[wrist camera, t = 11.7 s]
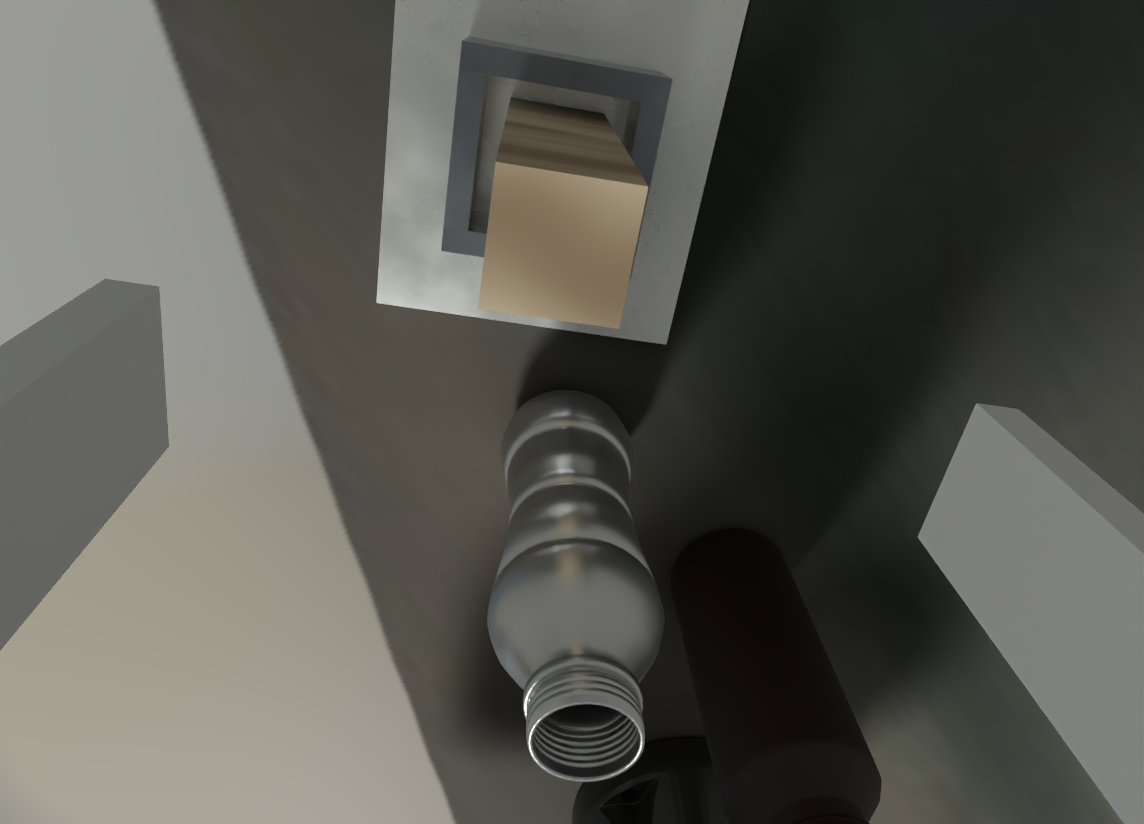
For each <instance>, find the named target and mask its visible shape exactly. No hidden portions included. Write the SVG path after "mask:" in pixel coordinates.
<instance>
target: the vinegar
mask: <svg viewBox="0 0 1144 824" xmlns="http://www.w3.org/2000/svg"><path fill="white" fill-rule="evenodd" d="M671 585H672V594H673V598H674V603H675V607H676V611H677V616H678V620H679V624H680V628H681V633H682V637H683V641H684V646H685V650H686V654H687V659H688V663H689V667H690V671H691V676H692V680H693V684H694V689H695V693H696V697H697V701H698V706H699V710H700V714H701V719H702V723H703V727H704V732H705V736H706V740H707V744H708V749H709V753H710V757H711V762H712V766H713V770H714V774H715V779H716V783H717V787H718V792H719V796H720V800H721V804H722V809H723V812H724V814H725V816H726V818H727V820H728V821H729V823H730V824H869V823H868V822H869V820H870V819H871V817H872V815H873V813H874V811H875V809H876V808H877V806H878V804H879V801H880V793H881V777H880V774H879V771H878V769H877V767H876V764H875V762H874V759H873V757H872V755H871V753H870V751H869V748H868V746H867V744H866V742H865V739H864V737H863V735H862V733H861V730H860V728H859V726H858V724H857V721H856V719H855V717H854V715H853V712H852V710H851V708H850V706H849V703H848V701H847V699H846V697H845V694H844V692H843V690H842V688H841V685H840V683H839V681H838V679H837V677H836V674H835V672H834V670H833V668H832V665H831V663H830V661H829V659H828V656H827V654H826V652H825V650H824V647H823V645H822V643H821V641H820V638H819V636H818V634H817V632H816V629H815V627H814V625H813V623H812V620H811V618H810V616H809V614H808V612H807V609H806V607H805V605H804V603H803V600H802V598H801V596H800V594H799V591H798V589H797V587H796V585H795V582H794V580H793V578H792V576H791V573H790V571H789V569H788V567H787V564H786V562H785V560H784V558H783V555H782V553H781V551H780V550H779V549H778V548H777V547H776V546H775V545H774V544H773V543H772V542H771V541H770V540H769V539H768V538H765V537H763V536H761V535H759V534H757V533H755V532H752V531H745V530H738V529H733V530H725V531H717V532H714V533H712V534H709V535H707V536H704V537H702V538H699V539H698V540H697V541H695V542H694V543H693V544H691V545H690V546H689V547H687V548H686V549H685V550H684V552H683V553H682V554H681V556H680V557H679V558H678V560H677V561H676V563H675V566H674V569H673V573H672V576H671Z"/></svg>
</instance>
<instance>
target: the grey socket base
mask: <svg viewBox="0 0 1144 824" xmlns="http://www.w3.org/2000/svg"><path fill="white" fill-rule="evenodd" d="M748 3H749V0H396V3H395V19H394V35H393V51H392V66H391V82H390V98H389V114H388V129H387V145H386V161H385V176H384V192H383V208H382V224H381V239H380V255H379V271H378V287H377V302H376V303H381V304H388V305H395V306H402V307H409V308H416V309H422V310H429V311H436V312H443V313H450V314H457V315H464V316H471V317H478V318H485V319H492V320H499V321H506V322H512V323H519V324H526V325H533V326H540V327H547V328H554V329H561V330H568V331H575V332H582V333H589V334H595V335H602V336H609V337H616V338H623V339H630V340H637V341H644V342H651V343H658V344H665V345H666V344H667V340H668V336H669V332H670V328H671V323H672V319H673V315H674V311H675V307H676V303H677V298H678V294H679V290H680V286H681V282H682V278H683V273H684V269H685V265H686V261H687V257H688V253H689V249H690V244H691V240H692V236H693V232H694V228H695V224H696V219H697V215H698V211H699V207H700V203H701V199H702V195H703V190H704V186H705V182H706V178H707V174H708V170H709V165H710V161H711V157H712V153H713V149H714V145H715V141H716V136H717V132H718V128H719V124H720V120H721V116H722V111H723V107H724V103H725V99H726V95H727V91H728V86H729V82H730V78H731V74H732V70H733V66H734V62H735V57H736V53H737V49H738V45H739V41H740V37H741V32H742V28H743V24H744V20H745V16H746V12H747V8H748ZM511 97H512V98H518V99H524V100H530V101H535V102H541V103H547V104H553V105H558V106H564V107H570V108H576V109H582V110H587V111H593V112H599V113H604V114H605V116H606V117H607V119H608V121H609V122H610V124H611V126H612V127H613V129H614V131H615V132H616V134H617V136H618V137H619V139H620V141H621V142H622V144H623V145H624V147H625V149H626V150H627V152H628V154H629V155H630V157H631V159H632V160H633V162H634V164H635V165H636V167H637V169H638V170H639V172H640V174H641V175H642V177H643V178H644V180H645V182H646V183H647V185H648V191H647V196H646V201H645V206H644V211H643V216H642V220H641V225H640V230H639V235H638V240H637V245H636V250H635V254H634V259H633V264H632V269H631V274H630V279H629V283H628V288H627V293H626V298H625V303H624V308H623V313H622V317H621V322H620V327H619V329H616V328H609V327H602V326H595V325H588V324H581V323H574V322H567V321H560V320H553V319H546V318H539V317H532V316H525V315H518V314H511V313H504V312H497V311H490V310H483V309H478V303H479V295H480V287H481V278H482V270H483V262H484V253H485V245H486V237H487V228H488V220H489V212H490V203H491V195H492V187H493V178H494V170H495V162H496V157H497V153H498V149H499V145H500V141H501V136H502V132H503V128H504V124H505V120H506V115H507V111H508V107H509V103H510V99H511Z"/></svg>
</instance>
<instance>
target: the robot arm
mask: <svg viewBox="0 0 1144 824" xmlns="http://www.w3.org/2000/svg"><path fill="white" fill-rule="evenodd" d="M166 409H167V408H166V393H165V377H164V359H163V343H162V327H161V311H160V294H159V287H158V286H151V285H143V284H137V283H130V282H123V281H116V280H109V279H104V280H103V281H101V282H99V283H98V284H96V285H95V286H93V287H92V288H90V289H89V290H87V291H86V292H84V293H82V294H81V295H79V296H78V297H76V298H74V299H73V300H72V301H70V302H68V303H67V304H65V305H64V306H62V307H61V308H59V309H57V310H56V311H54V312H53V313H51V314H49V315H48V316H46V317H45V318H43V319H42V320H40V321H39V322H37V323H36V324H34V325H32V326H31V327H29V328H28V329H26V330H25V331H23V332H21V333H20V334H18V335H17V336H15V337H14V338H12V339H10V340H9V341H7V342H6V343H4V344H3V345H1V346H0V650H1V649H2V648H3V647H4V645H5V644H6V643H7V642H8V641H9V639H10V638H11V637H12V636H13V634H14V633H15V632H16V631H17V630H18V628H19V627H20V626H21V625H22V623H23V622H24V621H25V620H26V619H27V617H28V616H29V615H30V614H31V613H32V611H33V610H34V609H35V608H36V607H37V605H38V604H39V603H40V602H41V601H42V599H43V598H44V597H45V596H46V594H47V593H48V592H49V591H50V590H51V588H52V587H53V586H54V585H55V584H56V582H57V581H58V580H59V579H60V578H61V576H62V575H63V574H64V573H65V571H66V570H67V569H68V568H69V567H70V565H71V564H72V563H73V562H74V561H75V559H76V558H77V557H78V556H79V555H80V553H81V552H82V551H83V549H85V547H86V546H87V545H88V544H89V542H90V541H91V540H92V539H93V538H94V536H95V535H96V534H97V533H98V531H99V530H100V529H101V528H102V527H103V525H104V524H105V523H106V522H107V521H108V519H109V518H110V517H111V516H112V515H113V513H114V512H115V511H116V509H118V507H119V506H120V505H121V504H122V503H123V501H124V500H125V499H126V498H127V496H128V495H129V494H130V493H131V492H132V490H133V489H134V488H135V487H136V486H137V484H138V483H139V482H140V481H141V479H142V478H143V477H144V476H145V475H146V473H147V472H148V471H149V470H150V469H151V467H152V466H153V465H154V464H155V462H156V461H157V460H158V459H159V458H160V457H161V455H162V454H163V453H164V451H165V450H166V449H167V448H168V447H169V443H168V425H167V410H166ZM918 538H919V540H920V541H921V543H922V544H923V545H924V547H925V548H926V549H927V551H928V552H929V554H930V555H931V556H932V558H933V559H934V561H935V562H936V563H937V565H938V566H939V568H940V569H941V570H942V572H943V573H944V574H945V576H946V577H947V579H948V580H949V581H950V583H951V584H952V586H953V587H954V588H955V590H956V591H957V593H958V594H959V595H960V597H961V598H962V599H963V601H964V602H965V604H966V605H967V606H968V608H969V609H970V611H971V612H972V613H973V615H974V616H975V618H976V619H977V620H978V622H979V623H980V624H981V626H982V627H983V629H984V630H985V631H986V633H987V634H988V636H989V637H990V638H991V640H992V641H993V642H994V644H995V645H996V647H997V648H998V649H999V651H1000V652H1001V654H1002V655H1003V656H1004V658H1005V659H1006V661H1007V662H1008V663H1009V665H1010V666H1011V667H1012V669H1013V670H1014V672H1015V673H1016V674H1017V676H1018V677H1019V679H1020V680H1021V681H1022V683H1023V684H1024V686H1025V687H1026V688H1027V690H1028V691H1029V692H1030V694H1031V695H1032V697H1033V698H1034V699H1035V701H1036V702H1037V704H1038V705H1039V706H1040V708H1041V709H1042V710H1043V712H1044V713H1045V715H1046V716H1047V717H1048V719H1049V720H1050V722H1051V723H1052V724H1053V726H1054V727H1055V729H1056V730H1057V731H1058V733H1059V734H1060V735H1061V737H1062V738H1063V740H1064V741H1065V742H1066V744H1067V745H1068V747H1069V748H1070V749H1071V751H1072V752H1073V754H1074V755H1075V756H1076V758H1077V759H1078V760H1079V762H1080V763H1081V765H1082V766H1083V767H1084V769H1085V770H1086V772H1087V773H1088V774H1089V776H1090V777H1091V778H1092V780H1093V781H1094V783H1095V784H1096V785H1097V787H1098V788H1099V790H1100V791H1101V792H1102V794H1103V795H1104V797H1105V798H1106V799H1107V801H1108V802H1109V803H1110V805H1111V806H1112V808H1113V809H1114V810H1115V812H1116V813H1117V815H1118V816H1119V817H1120V819H1121V820H1122V822H1123V823H1124V824H1144V514H1143V513H1142V512H1141V511H1140V510H1139V509H1137V508H1136V507H1135V506H1134V505H1133V504H1131V503H1130V502H1129V501H1128V500H1127V499H1125V498H1124V497H1123V496H1122V495H1121V494H1120V493H1118V492H1117V491H1116V490H1115V489H1114V488H1112V487H1111V486H1110V485H1109V484H1108V483H1106V482H1105V481H1104V480H1103V479H1102V478H1100V477H1099V476H1098V475H1097V474H1096V473H1094V472H1093V471H1092V470H1091V469H1090V468H1088V467H1087V466H1086V465H1085V464H1084V463H1082V462H1081V461H1080V460H1079V459H1078V458H1076V457H1075V456H1074V455H1073V454H1072V453H1070V452H1069V451H1068V450H1067V449H1066V448H1064V447H1063V446H1062V445H1061V444H1060V443H1058V442H1057V441H1056V440H1055V439H1054V438H1052V437H1051V436H1050V435H1049V434H1048V433H1046V432H1045V431H1044V430H1043V429H1042V428H1040V427H1039V426H1038V425H1037V424H1036V423H1034V422H1033V421H1032V420H1031V419H1030V418H1028V417H1027V416H1026V415H1025V414H1024V413H1022V412H1021V411H1020V410H1019V409H1014V408H1007V407H1000V406H993V405H986V404H979V403H976V405H975V407H974V410H973V412H972V414H971V417H970V419H969V421H968V423H967V426H966V428H965V430H964V432H963V435H962V437H961V439H960V442H959V444H958V446H957V448H956V451H955V453H954V455H953V457H952V460H951V462H950V464H949V467H948V469H947V471H946V473H945V476H944V478H943V480H942V483H941V485H940V487H939V489H938V492H937V494H936V496H935V498H934V501H933V503H932V505H931V508H930V510H929V512H928V514H927V517H926V519H925V521H924V524H923V526H922V528H921V530H920V533H919V535H918ZM572 824H730V823H729V821H728V820H727V818H726V816H725V814H724V812H723V809H722V804H721V800H720V796H719V792H718V787H717V783H716V779H715V774H714V770H713V766H712V762H711V757H710V753H709V749H708V744H707V740H706V739H700V738H683V739H671V740H665V741H659V742H655V743H651V744H647V745H644V749H643V752H642V754H641V756H640V758H639V759H638V760H637V761H636V763H635V764H634V765H633V766H631V767H630V768H629V769H628V770H626V771H625V772H623V773H621V774H619V775H617V776H615V777H612V778H609V779H605V780H600V781H594V782H586V783H585V784H584V785H583V787H582V788H581V790H580V792H579V793H578V795H577V798H576V800H575V803H574V807H573V813H572Z"/></svg>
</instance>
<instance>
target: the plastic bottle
mask: <svg viewBox="0 0 1144 824" xmlns="http://www.w3.org/2000/svg"><path fill="white" fill-rule="evenodd" d="M500 456H501V463H502V469H503V475H504V480H505V483H506V486H507V489H508V500H509V512H510V517H509V526H508V531H507V537H506V544H505V550H504V553H503V556H502V560H501V563H500V566H499V570H498V573H497V576H496V579H495V583H494V586H493V589H492V592H491V596H490V602H489V607H488V617H487V625H488V630H489V635H490V638H491V641H492V644H493V647H494V650H495V653H496V655H497V657H498V659H499V662H500V664H501V665H502V666H503V667H504V669H505V670H506V671H507V673H508V674H509V675H510V676H511V677H512V678H513V679H514V681H515V682H516V683H517V684H518V685H519V686H520V687H521V688H522V689H523V690H524V693H523V711H524V716H525V718H526V739H527V744H528V748H529V752H530V754H531V756H532V758H533V760H534V761H535V762H536V763H537V765H538V766H540V767H541V768H542V769H543V770H545V771H546V772H548V773H550V774H552V775H553V776H556V777H559V778H562V779H565V780H570V781H576V782H594V781H600V780H605V779H609V778H612V777H615V776H617V775H619V774H621V773H623V772H625V771H626V770H628V769H629V768H630V767H631V766H633V765H634V764H635V763H636V761H637V760H638V759H639V758H640V756H641V754H642V752H643V749H644V745H645V728H644V723H643V717H642V712H643V698H642V692H641V688H640V685H639V683H640V682H641V681H642V680H643V678H644V677H645V675H646V674H647V672H648V671H649V669H650V668H651V666H652V665H653V663H654V661H655V659H656V657H657V655H658V653H659V649H660V644H661V640H662V635H663V630H664V625H665V616H664V608H663V605H662V601H661V598H660V594H659V591H658V588H657V585H656V582H655V580H654V578H653V575H652V573H651V571H650V568H649V566H648V564H647V561H646V559H645V557H644V554H643V552H642V550H641V547H640V545H639V542H638V538H637V534H636V531H635V527H634V524H633V519H632V516H631V512H630V483H631V477H632V471H633V448H632V443H631V440H630V437H629V434H628V433H627V431H626V429H625V427H624V426H623V424H622V422H621V420H620V419H619V417H618V415H617V414H616V413H615V412H614V411H613V410H612V408H611V407H610V406H608V405H607V404H606V403H605V402H603V401H602V400H600V399H598V398H596V397H594V396H592V395H590V394H587V393H584V392H580V391H574V390H554V391H550V392H546V393H542V394H540V395H538V396H536V397H533V398H531V399H530V400H529V401H527V402H526V403H524V404H523V405H522V406H521V407H520V408H519V409H518V410H517V411H516V412H515V414H514V416H513V417H512V419H511V421H510V422H509V425H508V427H507V429H506V431H505V433H504V436H503V440H502V443H501V452H500Z"/></svg>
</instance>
